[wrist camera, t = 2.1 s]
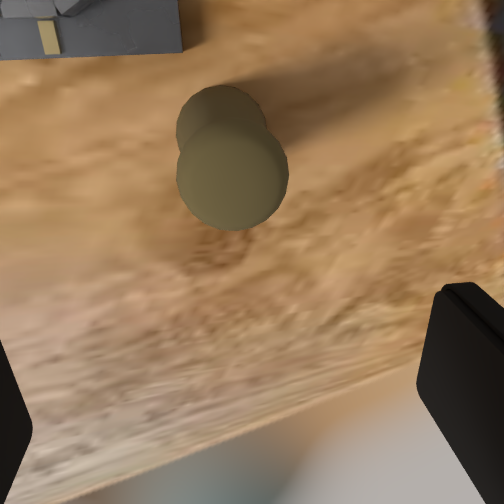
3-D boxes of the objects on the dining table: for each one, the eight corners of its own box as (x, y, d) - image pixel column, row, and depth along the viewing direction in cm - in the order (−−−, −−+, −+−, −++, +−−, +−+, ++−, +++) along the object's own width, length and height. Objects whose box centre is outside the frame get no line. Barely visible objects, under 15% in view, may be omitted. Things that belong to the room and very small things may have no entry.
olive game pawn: (285, 121, 27) (333, 167, 18) (234, 194, 29) (253, 271, 20) (207, 64, 25) (215, 82, 16) (158, 147, 27) (137, 208, 18)
